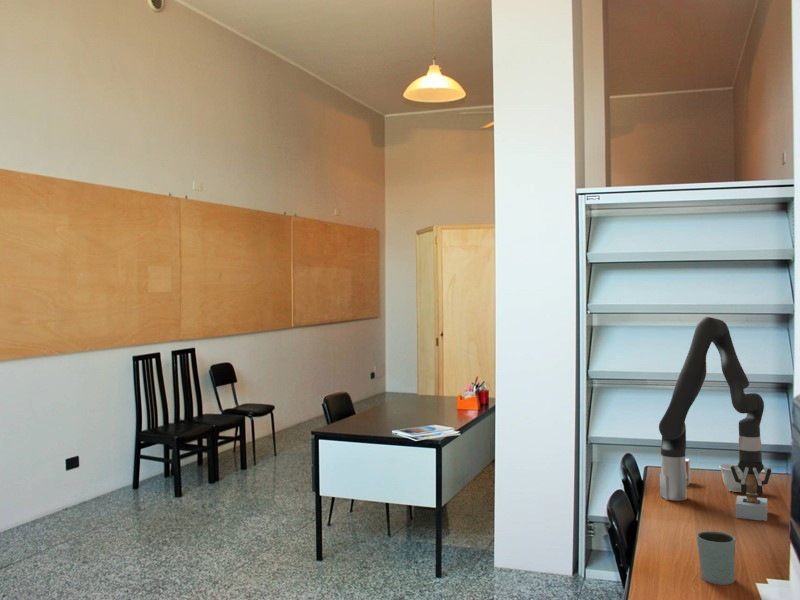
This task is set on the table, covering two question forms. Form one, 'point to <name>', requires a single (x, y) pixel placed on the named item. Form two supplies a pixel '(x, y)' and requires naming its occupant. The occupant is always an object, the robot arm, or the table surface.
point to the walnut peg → (751, 488)
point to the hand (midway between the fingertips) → (751, 494)
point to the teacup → (731, 477)
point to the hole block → (751, 509)
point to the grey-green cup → (717, 557)
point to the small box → (687, 471)
